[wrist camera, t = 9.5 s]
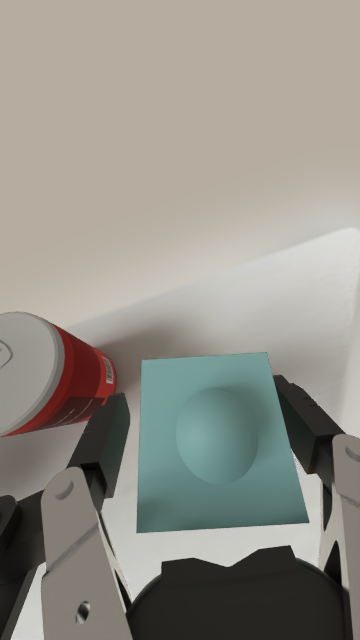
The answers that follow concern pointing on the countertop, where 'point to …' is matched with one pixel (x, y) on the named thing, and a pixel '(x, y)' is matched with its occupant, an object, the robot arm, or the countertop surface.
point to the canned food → (48, 375)
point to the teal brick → (214, 446)
